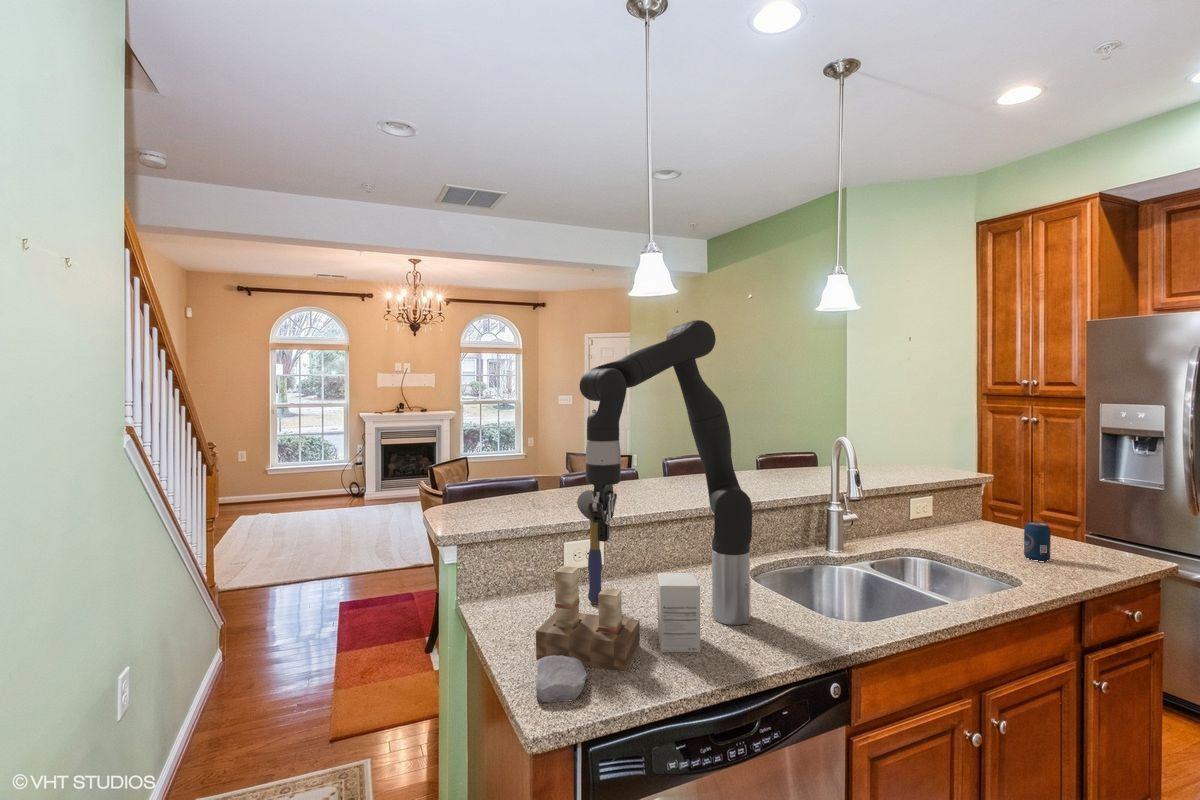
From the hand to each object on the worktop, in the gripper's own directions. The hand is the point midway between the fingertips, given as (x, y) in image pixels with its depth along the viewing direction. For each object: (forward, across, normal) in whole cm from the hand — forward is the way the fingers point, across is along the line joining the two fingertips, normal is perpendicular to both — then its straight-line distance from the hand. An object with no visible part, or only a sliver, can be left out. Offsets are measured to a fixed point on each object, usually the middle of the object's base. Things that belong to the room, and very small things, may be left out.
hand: (603, 540), depth 126 cm
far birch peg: (+20, 0, +9) cm, 22 cm away
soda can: (+25, +105, -116) cm, 158 cm away
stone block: (+26, -15, +4) cm, 30 cm away
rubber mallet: (+25, +28, +12) cm, 40 cm away
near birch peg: (+24, 0, -1) cm, 24 cm away
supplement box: (+25, +10, -14) cm, 31 cm away
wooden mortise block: (+25, 0, +4) cm, 25 cm away
